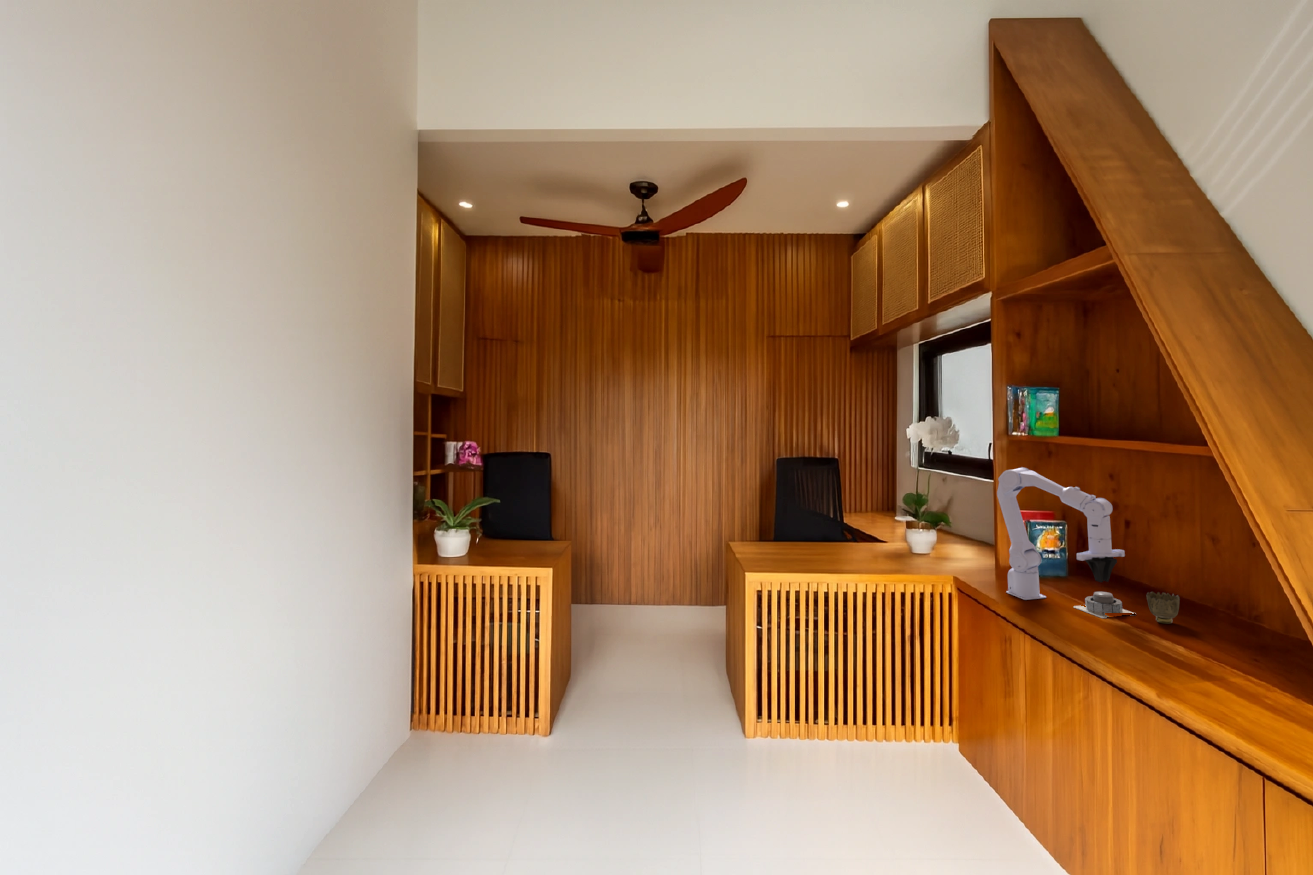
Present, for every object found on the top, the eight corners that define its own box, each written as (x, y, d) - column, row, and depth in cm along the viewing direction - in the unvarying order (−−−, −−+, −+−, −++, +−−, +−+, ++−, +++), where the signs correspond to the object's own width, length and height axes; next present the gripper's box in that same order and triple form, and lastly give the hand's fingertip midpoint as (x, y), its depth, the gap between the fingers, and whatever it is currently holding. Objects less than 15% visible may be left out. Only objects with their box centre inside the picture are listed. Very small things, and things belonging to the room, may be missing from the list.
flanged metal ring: (1073, 607, 187) (1072, 596, 187) (1104, 604, 188) (1104, 593, 188) (1102, 618, 176) (1102, 607, 176) (1136, 614, 177) (1135, 603, 177)
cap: (1089, 608, 184) (1089, 592, 184) (1103, 606, 185) (1102, 590, 185) (1104, 612, 179) (1103, 596, 179) (1118, 611, 180) (1117, 595, 180)
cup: (1178, 628, 165) (1176, 600, 164) (1145, 623, 170) (1143, 595, 170) (1183, 621, 169) (1182, 594, 169) (1150, 616, 175) (1149, 589, 175)
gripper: (1088, 542, 177) (1091, 586, 177) (1132, 538, 178) (1135, 582, 179) (1070, 538, 184) (1072, 580, 184) (1112, 534, 185) (1114, 576, 186)
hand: (1102, 581), depth 182 cm, fingers closed
